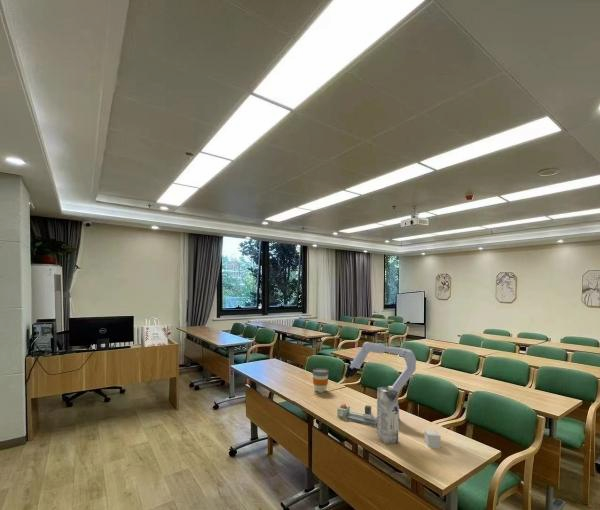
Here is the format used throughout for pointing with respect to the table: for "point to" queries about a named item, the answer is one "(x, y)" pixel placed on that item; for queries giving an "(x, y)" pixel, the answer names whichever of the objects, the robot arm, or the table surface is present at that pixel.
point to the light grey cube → (432, 439)
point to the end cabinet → (343, 411)
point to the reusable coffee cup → (320, 379)
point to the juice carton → (387, 414)
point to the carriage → (367, 412)
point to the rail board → (361, 419)
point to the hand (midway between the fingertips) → (347, 376)
